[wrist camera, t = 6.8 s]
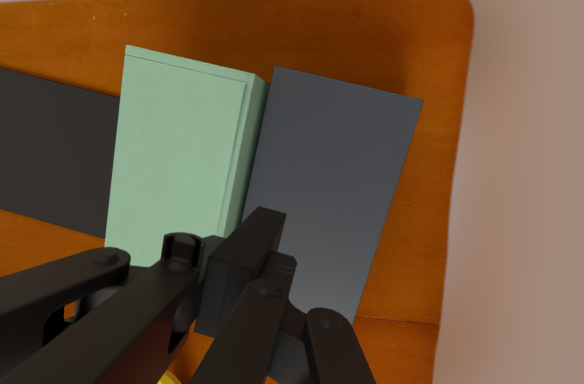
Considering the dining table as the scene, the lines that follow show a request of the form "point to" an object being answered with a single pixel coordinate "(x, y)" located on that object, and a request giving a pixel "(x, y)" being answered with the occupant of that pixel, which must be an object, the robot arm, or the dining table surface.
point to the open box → (181, 150)
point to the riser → (330, 179)
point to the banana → (168, 378)
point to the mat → (56, 151)
